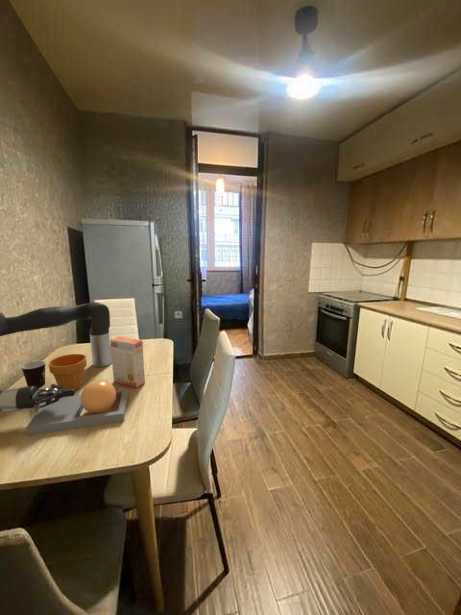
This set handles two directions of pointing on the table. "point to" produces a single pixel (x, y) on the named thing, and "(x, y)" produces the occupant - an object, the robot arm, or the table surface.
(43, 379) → the coffee mug
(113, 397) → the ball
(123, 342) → the cracker box
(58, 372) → the flower pot
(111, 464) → the table surface
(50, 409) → the tray
